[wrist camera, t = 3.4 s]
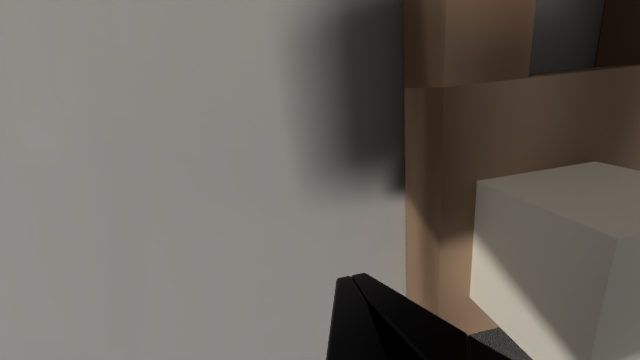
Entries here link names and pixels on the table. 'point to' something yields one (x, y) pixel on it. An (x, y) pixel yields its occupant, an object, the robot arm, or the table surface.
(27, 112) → the table surface
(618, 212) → the block
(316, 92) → the table surface
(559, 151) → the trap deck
